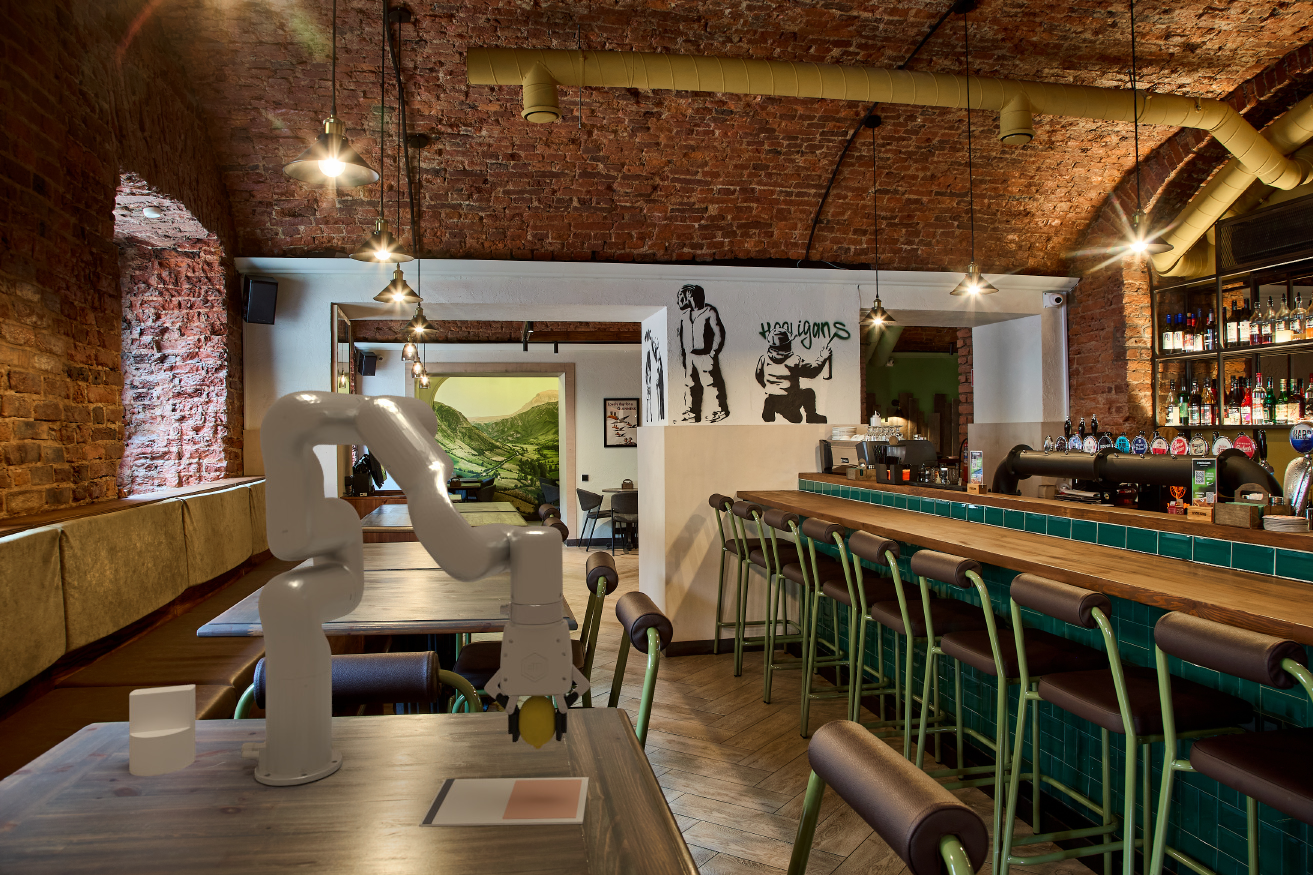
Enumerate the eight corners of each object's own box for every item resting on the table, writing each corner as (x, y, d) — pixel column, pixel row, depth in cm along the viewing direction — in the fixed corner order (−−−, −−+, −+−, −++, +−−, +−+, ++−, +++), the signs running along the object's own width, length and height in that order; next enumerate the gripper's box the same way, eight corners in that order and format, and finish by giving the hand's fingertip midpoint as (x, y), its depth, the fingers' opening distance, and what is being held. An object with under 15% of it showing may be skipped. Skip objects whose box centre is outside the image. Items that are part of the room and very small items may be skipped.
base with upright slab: (201, 750, 132) (201, 678, 132) (187, 771, 123) (187, 695, 123) (139, 757, 129) (139, 684, 129) (121, 779, 120) (121, 701, 121)
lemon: (560, 741, 115) (560, 687, 115) (552, 756, 110) (551, 699, 110) (524, 740, 116) (523, 686, 116) (513, 755, 110) (513, 699, 110)
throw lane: (419, 826, 105) (419, 823, 105) (444, 781, 119) (444, 778, 119) (582, 823, 106) (582, 820, 106) (588, 778, 120) (588, 776, 120)
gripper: (471, 619, 109) (472, 749, 109) (595, 617, 109) (596, 747, 109) (482, 608, 116) (483, 729, 116) (597, 606, 117) (598, 727, 117)
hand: (537, 736), depth 113 cm, fingers closed on lemon, 5 cm apart
